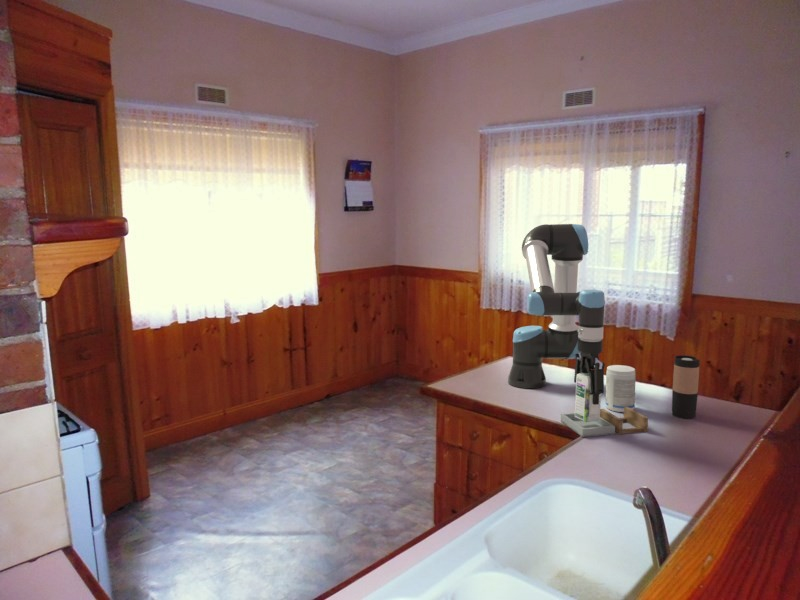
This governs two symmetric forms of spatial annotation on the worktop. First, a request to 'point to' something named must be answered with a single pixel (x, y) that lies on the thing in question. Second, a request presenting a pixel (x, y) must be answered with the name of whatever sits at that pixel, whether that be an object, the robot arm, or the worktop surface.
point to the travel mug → (685, 386)
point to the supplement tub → (620, 387)
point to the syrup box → (584, 399)
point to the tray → (587, 426)
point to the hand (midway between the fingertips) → (587, 409)
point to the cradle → (630, 417)
